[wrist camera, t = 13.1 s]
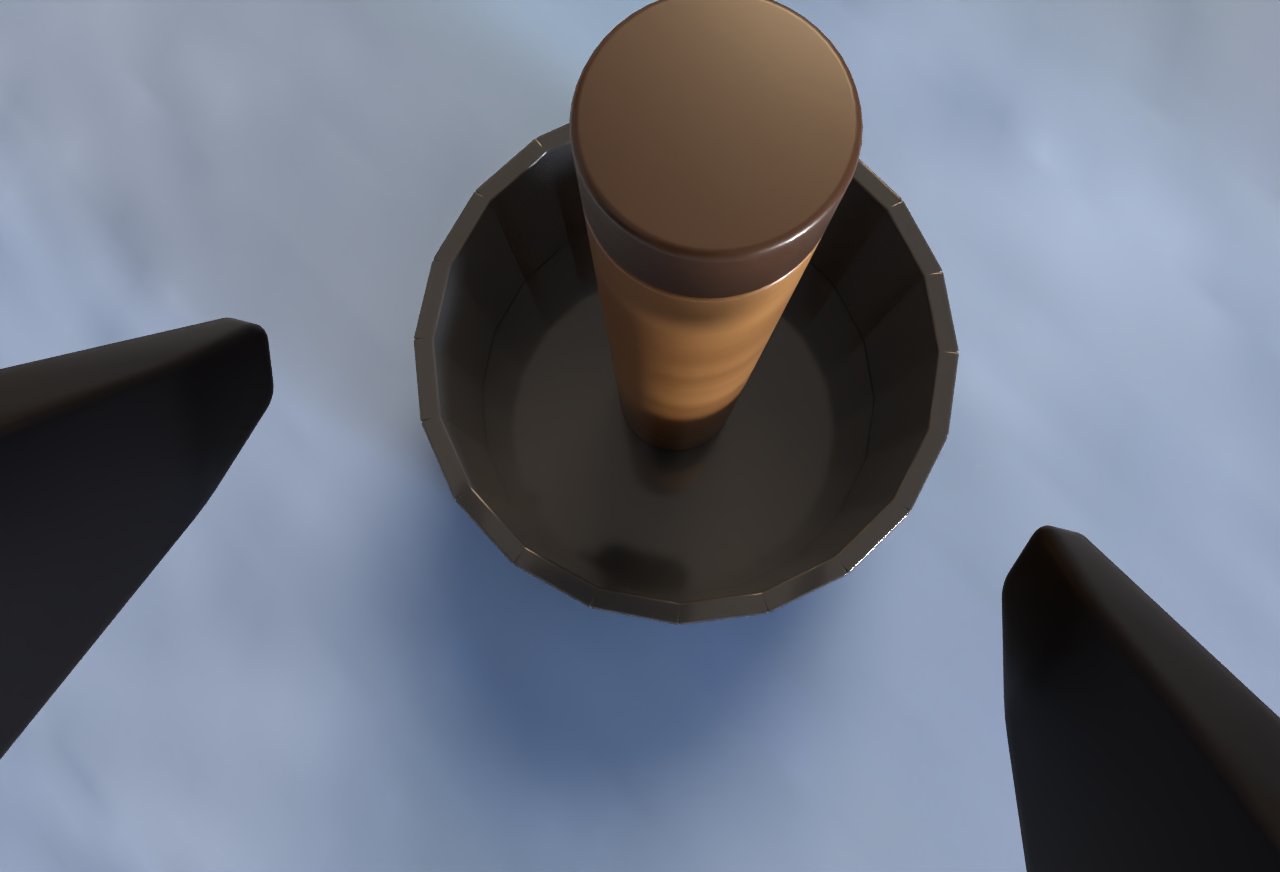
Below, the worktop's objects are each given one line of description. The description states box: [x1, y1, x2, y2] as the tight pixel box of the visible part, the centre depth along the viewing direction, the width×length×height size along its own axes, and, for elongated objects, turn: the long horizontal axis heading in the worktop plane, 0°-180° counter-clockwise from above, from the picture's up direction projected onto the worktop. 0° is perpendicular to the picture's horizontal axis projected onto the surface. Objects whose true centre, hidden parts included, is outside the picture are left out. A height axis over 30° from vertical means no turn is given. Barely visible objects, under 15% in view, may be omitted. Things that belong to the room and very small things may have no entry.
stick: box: [570, 0, 863, 451], centre depth 14 cm, size 3×3×12 cm
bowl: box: [414, 123, 959, 625], centre depth 18 cm, size 10×10×5 cm
